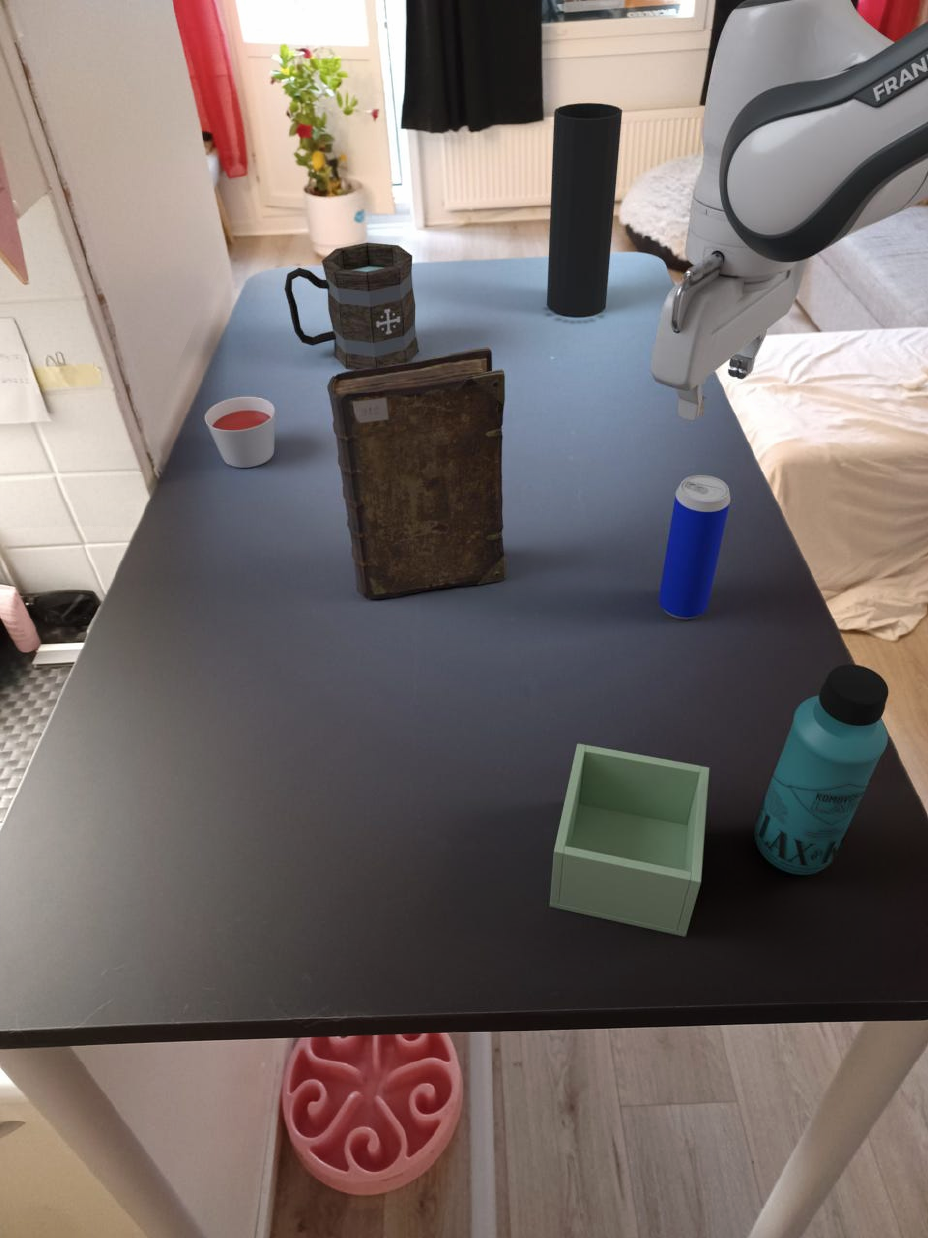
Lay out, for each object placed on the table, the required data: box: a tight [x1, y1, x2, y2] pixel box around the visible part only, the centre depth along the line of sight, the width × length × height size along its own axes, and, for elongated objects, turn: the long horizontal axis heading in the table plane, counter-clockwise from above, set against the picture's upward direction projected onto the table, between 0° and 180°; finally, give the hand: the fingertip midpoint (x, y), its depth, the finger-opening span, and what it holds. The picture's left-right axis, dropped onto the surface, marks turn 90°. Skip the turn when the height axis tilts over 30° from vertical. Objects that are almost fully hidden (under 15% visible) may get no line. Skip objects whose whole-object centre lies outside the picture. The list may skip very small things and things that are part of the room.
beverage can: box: [658, 474, 731, 620], centre depth 90 cm, size 5×5×15 cm
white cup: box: [204, 396, 276, 469], centre depth 118 cm, size 9×9×6 cm
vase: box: [546, 102, 623, 318], centre depth 144 cm, size 10×10×30 cm
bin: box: [549, 743, 710, 938], centre depth 69 cm, size 10×10×8 cm
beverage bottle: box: [752, 663, 890, 876], centre depth 65 cm, size 6×7×20 cm
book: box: [326, 346, 507, 600], centre depth 91 cm, size 17×7×25 cm, turn 99°
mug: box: [284, 242, 420, 371], centre depth 137 cm, size 20×14×15 cm
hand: (715, 394), depth 79 cm, fingers open, 8 cm apart
